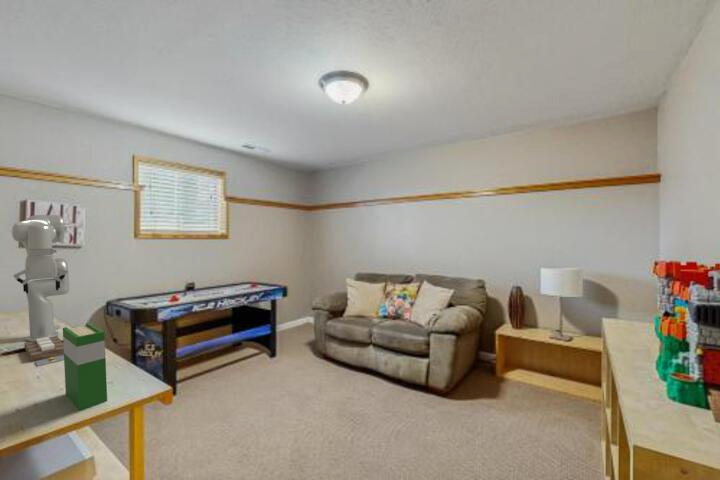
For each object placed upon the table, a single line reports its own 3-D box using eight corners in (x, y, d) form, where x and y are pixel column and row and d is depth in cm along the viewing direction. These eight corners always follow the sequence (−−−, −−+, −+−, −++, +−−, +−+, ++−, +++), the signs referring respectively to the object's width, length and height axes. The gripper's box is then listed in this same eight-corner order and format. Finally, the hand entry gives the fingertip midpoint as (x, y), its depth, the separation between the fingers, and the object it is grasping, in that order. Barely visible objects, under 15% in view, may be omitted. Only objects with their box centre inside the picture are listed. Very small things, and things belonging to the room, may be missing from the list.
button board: (24, 348, 163) (24, 342, 163) (57, 341, 172) (57, 336, 172) (31, 362, 147) (31, 355, 146) (67, 353, 156) (67, 347, 156)
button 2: (40, 350, 155) (40, 345, 154) (53, 347, 158) (52, 342, 158) (41, 352, 152) (41, 347, 152) (54, 349, 155) (54, 345, 155)
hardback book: (65, 394, 118) (62, 327, 117) (91, 386, 124) (89, 322, 123) (79, 410, 107) (76, 337, 106) (107, 401, 113) (104, 331, 112)
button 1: (36, 343, 164) (36, 339, 163) (48, 341, 167) (48, 336, 167) (37, 345, 161) (37, 341, 161) (49, 343, 164) (49, 338, 164)
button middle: (38, 346, 159) (38, 342, 159) (50, 344, 162) (50, 339, 162) (39, 348, 156) (39, 344, 156) (52, 346, 160) (52, 341, 160)
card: (35, 362, 146) (35, 360, 146) (65, 355, 154) (65, 354, 154) (37, 366, 142) (37, 365, 142) (68, 359, 150) (68, 357, 149)
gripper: (66, 251, 155) (67, 287, 155) (12, 253, 143) (14, 293, 143) (67, 252, 150) (69, 289, 150) (11, 254, 137) (14, 295, 138)
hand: (42, 291), depth 147 cm, fingers open, 9 cm apart
